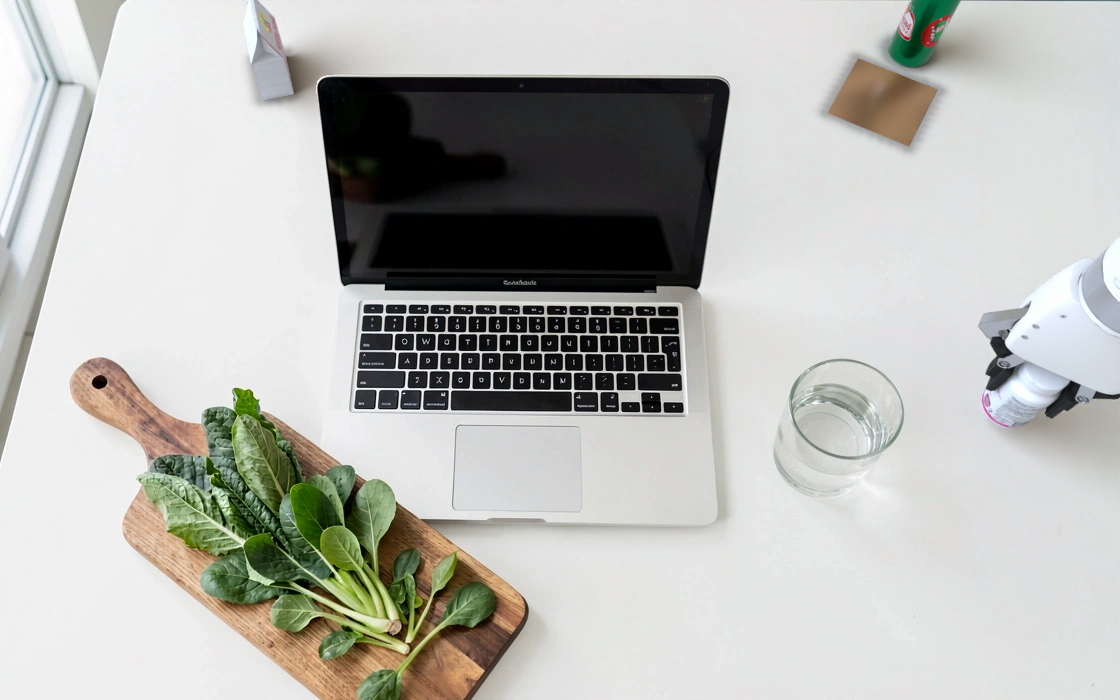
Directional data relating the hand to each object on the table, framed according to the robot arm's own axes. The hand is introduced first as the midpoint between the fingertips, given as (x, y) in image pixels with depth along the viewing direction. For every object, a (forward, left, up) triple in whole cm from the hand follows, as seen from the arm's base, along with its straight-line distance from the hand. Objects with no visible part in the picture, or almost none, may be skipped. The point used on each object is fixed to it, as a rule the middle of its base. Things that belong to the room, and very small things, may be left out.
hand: (1023, 390), depth 84 cm
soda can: (+34, -34, -7) cm, 49 cm away
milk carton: (+85, +24, -7) cm, 89 cm away
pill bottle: (0, 0, -4) cm, 4 cm away
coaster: (+32, -26, -6) cm, 41 cm away
